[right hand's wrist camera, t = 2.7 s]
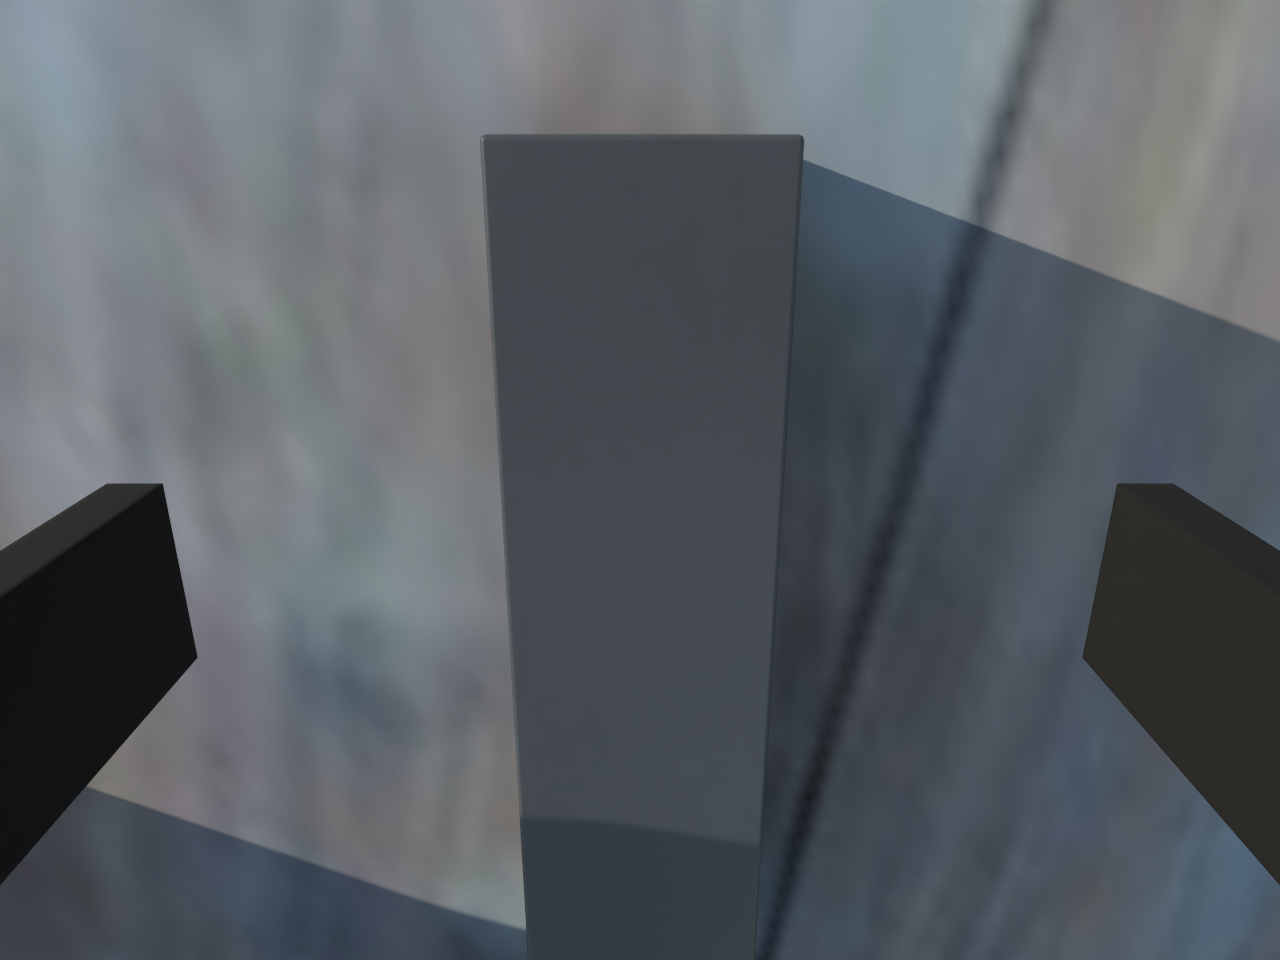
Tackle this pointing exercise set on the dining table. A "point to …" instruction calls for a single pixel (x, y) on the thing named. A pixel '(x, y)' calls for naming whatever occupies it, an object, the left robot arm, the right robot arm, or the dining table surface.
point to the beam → (641, 523)
